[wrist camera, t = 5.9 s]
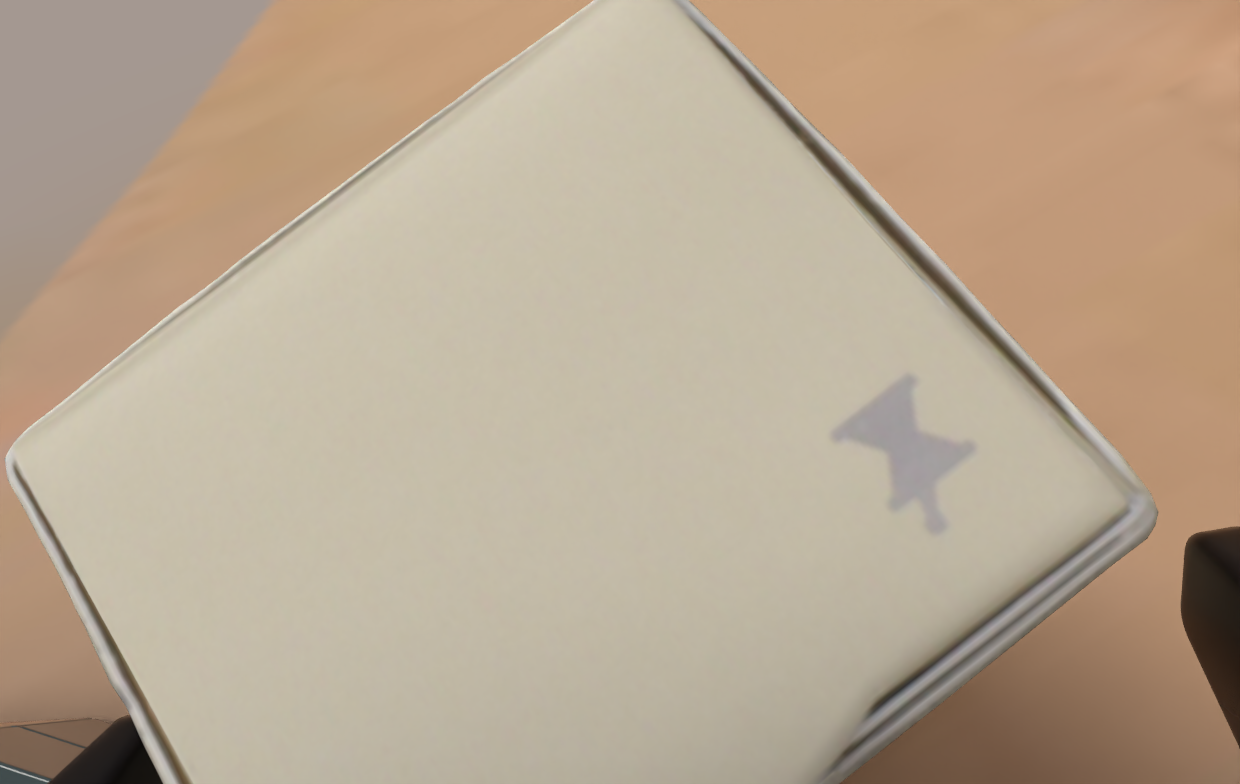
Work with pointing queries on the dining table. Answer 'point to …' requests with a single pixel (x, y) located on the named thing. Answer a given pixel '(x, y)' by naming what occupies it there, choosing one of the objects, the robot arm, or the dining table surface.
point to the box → (572, 455)
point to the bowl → (43, 747)
